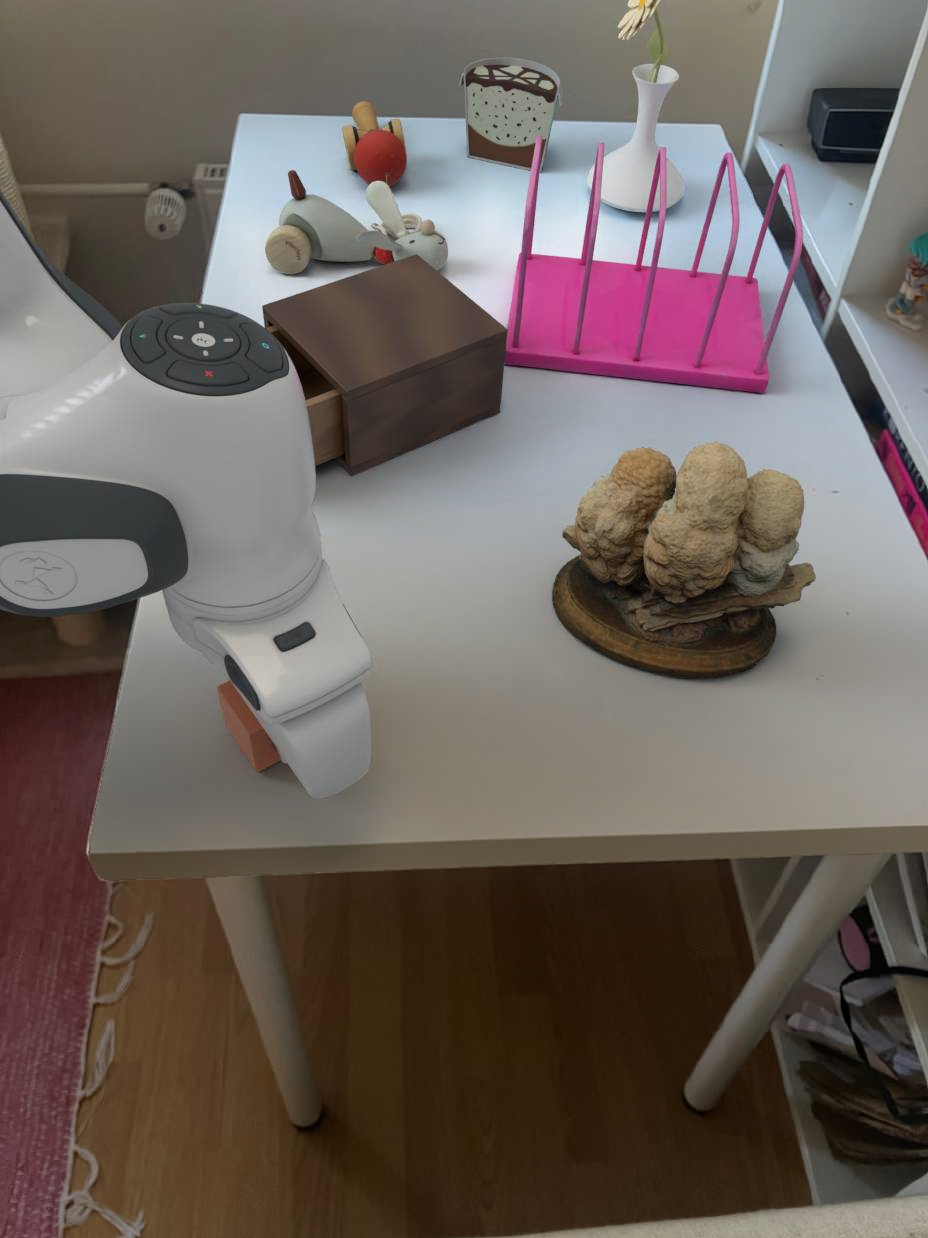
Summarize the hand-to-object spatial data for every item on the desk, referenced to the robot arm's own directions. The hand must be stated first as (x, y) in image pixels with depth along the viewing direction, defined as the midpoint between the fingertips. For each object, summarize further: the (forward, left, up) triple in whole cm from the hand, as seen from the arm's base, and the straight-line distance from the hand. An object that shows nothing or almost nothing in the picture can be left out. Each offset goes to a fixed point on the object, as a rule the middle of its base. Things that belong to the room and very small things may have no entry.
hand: (268, 720), depth 67 cm
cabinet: (+8, +36, -2) cm, 37 cm away
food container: (+24, +84, -2) cm, 87 cm away
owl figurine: (+29, +10, -2) cm, 31 cm away
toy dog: (+5, +60, -2) cm, 60 cm away
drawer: (0, +31, -1) cm, 30 cm away
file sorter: (+33, +47, -2) cm, 58 cm away
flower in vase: (+37, +73, -2) cm, 82 cm away
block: (0, 0, -2) cm, 2 cm away
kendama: (+7, +82, -2) cm, 82 cm away
